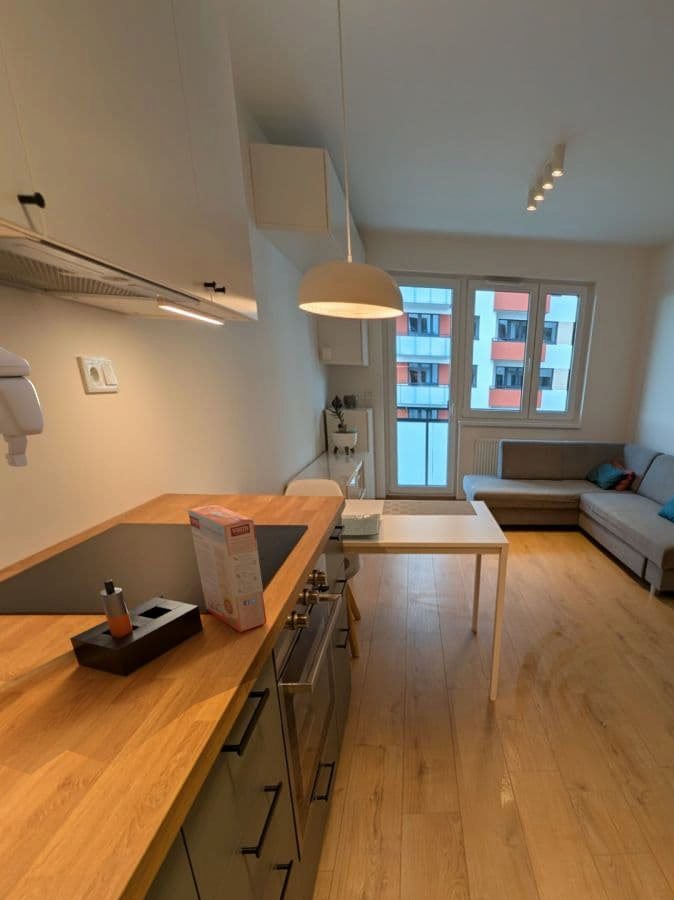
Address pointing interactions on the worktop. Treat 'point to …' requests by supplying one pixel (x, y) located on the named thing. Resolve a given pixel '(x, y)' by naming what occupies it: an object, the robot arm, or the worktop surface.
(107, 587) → the orange banded battery
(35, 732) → the worktop surface
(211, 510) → the cracker box
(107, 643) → the holder
